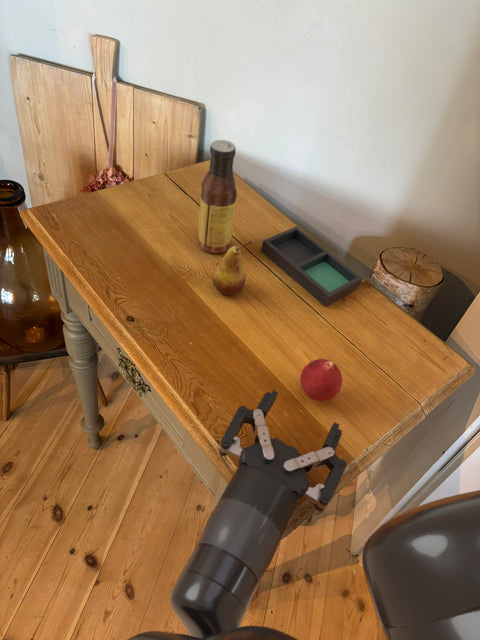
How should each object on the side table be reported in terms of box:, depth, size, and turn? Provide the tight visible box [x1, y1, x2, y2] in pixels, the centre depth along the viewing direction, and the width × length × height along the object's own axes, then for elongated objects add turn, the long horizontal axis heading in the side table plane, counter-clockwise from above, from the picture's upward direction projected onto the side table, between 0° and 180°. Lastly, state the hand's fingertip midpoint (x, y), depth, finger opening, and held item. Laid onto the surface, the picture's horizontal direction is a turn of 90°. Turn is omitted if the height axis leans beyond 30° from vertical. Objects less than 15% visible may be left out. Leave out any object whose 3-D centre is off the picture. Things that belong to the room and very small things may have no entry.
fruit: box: [212, 240, 253, 296], centre depth 76 cm, size 6×6×12 cm
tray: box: [260, 226, 364, 308], centre depth 86 cm, size 9×17×3 cm, turn 40°
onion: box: [299, 358, 343, 402], centre depth 65 cm, size 6×6×8 cm
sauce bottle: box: [197, 139, 238, 255], centre depth 80 cm, size 6×6×20 cm
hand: (304, 410), depth 59 cm, fingers open, 8 cm apart
